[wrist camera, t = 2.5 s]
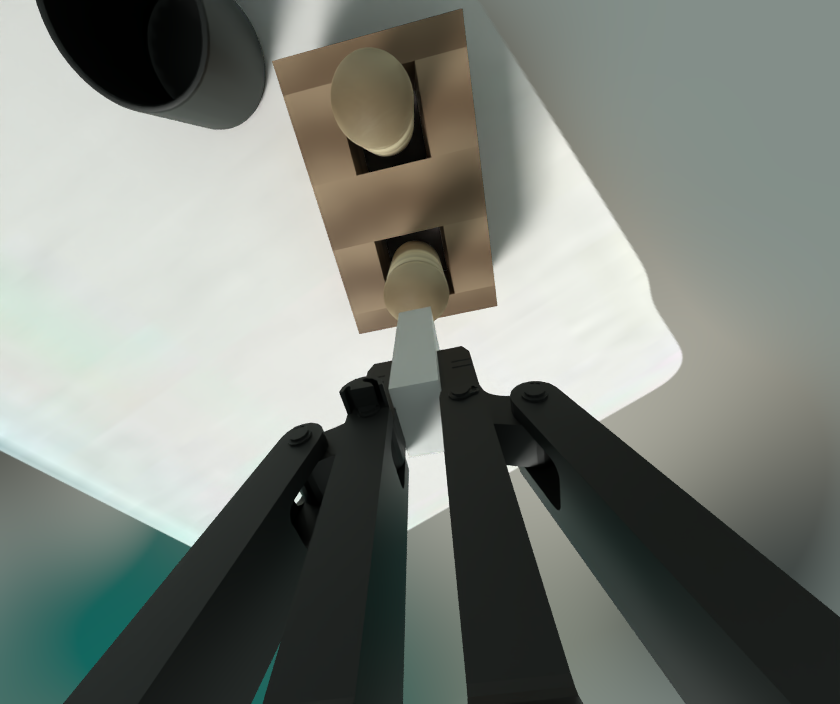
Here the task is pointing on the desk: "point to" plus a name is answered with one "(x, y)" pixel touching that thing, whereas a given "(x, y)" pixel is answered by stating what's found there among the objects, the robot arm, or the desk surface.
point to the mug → (163, 56)
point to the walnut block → (398, 168)
